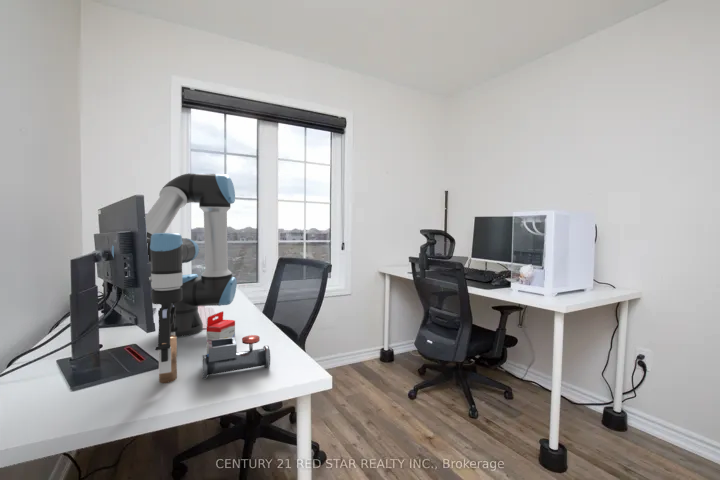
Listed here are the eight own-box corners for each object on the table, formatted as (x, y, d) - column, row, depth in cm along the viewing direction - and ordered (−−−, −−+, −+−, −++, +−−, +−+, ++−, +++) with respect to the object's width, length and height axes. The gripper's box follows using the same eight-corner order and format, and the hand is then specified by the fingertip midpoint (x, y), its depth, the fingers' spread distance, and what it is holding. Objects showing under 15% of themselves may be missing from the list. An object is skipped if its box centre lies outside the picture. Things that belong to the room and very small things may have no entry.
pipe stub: (159, 377, 91) (159, 336, 91) (177, 374, 93) (177, 334, 93) (157, 384, 87) (157, 341, 87) (176, 381, 89) (175, 338, 89)
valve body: (202, 383, 88) (202, 348, 88) (202, 372, 95) (202, 340, 94) (270, 371, 96) (270, 339, 96) (266, 361, 103) (266, 332, 102)
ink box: (220, 364, 101) (219, 318, 100) (206, 363, 102) (205, 317, 101) (235, 354, 109) (235, 311, 108) (222, 352, 110) (222, 310, 109)
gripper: (157, 281, 99) (158, 349, 100) (143, 297, 77) (144, 384, 77) (184, 280, 102) (185, 345, 103) (179, 295, 80) (179, 378, 81)
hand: (167, 362), depth 90 cm, fingers open, 13 cm apart
